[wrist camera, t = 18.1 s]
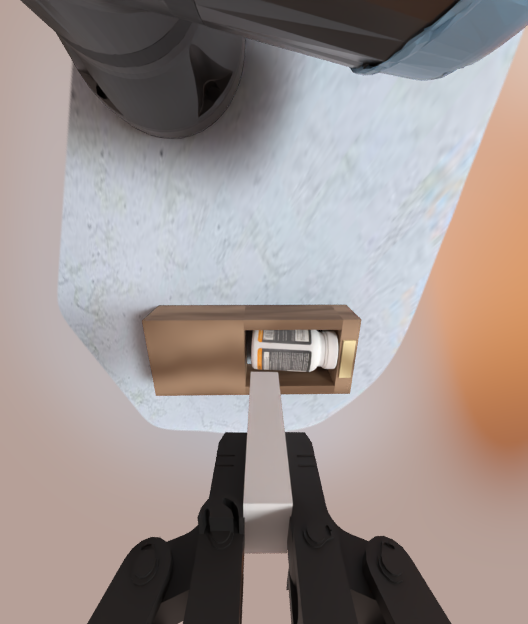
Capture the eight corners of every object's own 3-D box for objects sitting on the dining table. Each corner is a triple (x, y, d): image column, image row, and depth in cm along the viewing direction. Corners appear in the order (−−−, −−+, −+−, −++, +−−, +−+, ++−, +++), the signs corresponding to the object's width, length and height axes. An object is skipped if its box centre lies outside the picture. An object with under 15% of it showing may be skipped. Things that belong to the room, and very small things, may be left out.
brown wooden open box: (159, 305, 31) (141, 321, 26) (346, 304, 32) (362, 320, 27) (169, 371, 35) (155, 396, 30) (337, 370, 35) (350, 394, 30)
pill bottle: (253, 363, 33) (327, 368, 33) (249, 373, 28) (338, 379, 27) (255, 321, 33) (329, 325, 33) (251, 323, 28) (341, 327, 27)
